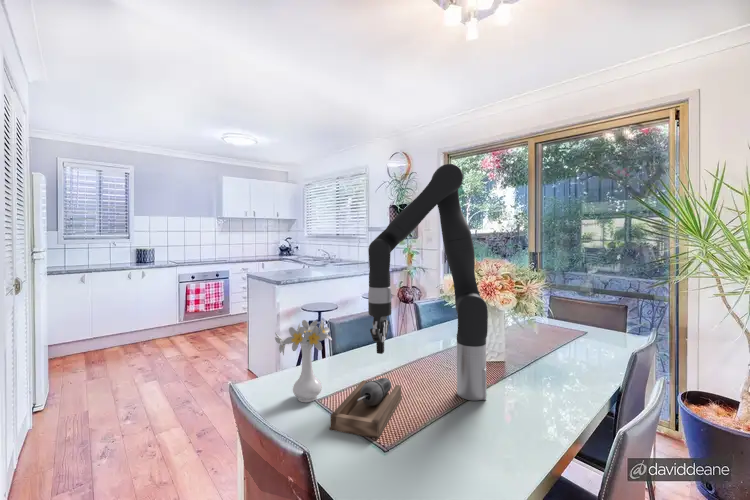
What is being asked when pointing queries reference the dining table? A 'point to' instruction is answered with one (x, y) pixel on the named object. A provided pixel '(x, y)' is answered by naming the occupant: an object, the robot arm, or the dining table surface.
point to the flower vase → (306, 357)
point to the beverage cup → (375, 391)
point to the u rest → (365, 413)
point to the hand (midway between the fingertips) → (380, 352)
